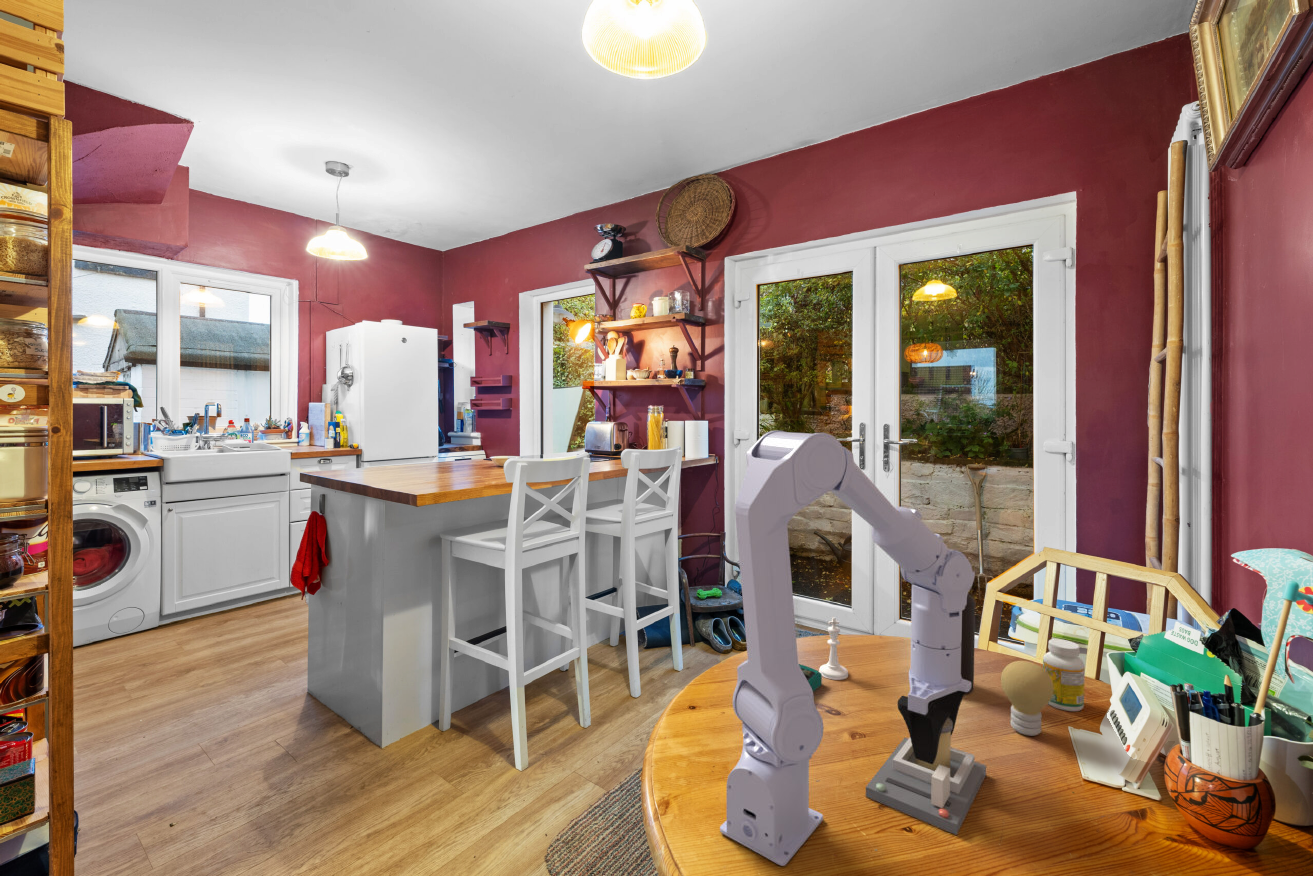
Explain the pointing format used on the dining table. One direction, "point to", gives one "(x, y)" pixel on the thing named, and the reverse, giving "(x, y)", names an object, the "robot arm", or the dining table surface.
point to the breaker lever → (940, 786)
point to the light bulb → (1026, 694)
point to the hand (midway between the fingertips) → (934, 746)
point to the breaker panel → (927, 787)
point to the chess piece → (833, 656)
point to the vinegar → (968, 641)
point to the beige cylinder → (941, 749)
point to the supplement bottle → (1065, 674)
